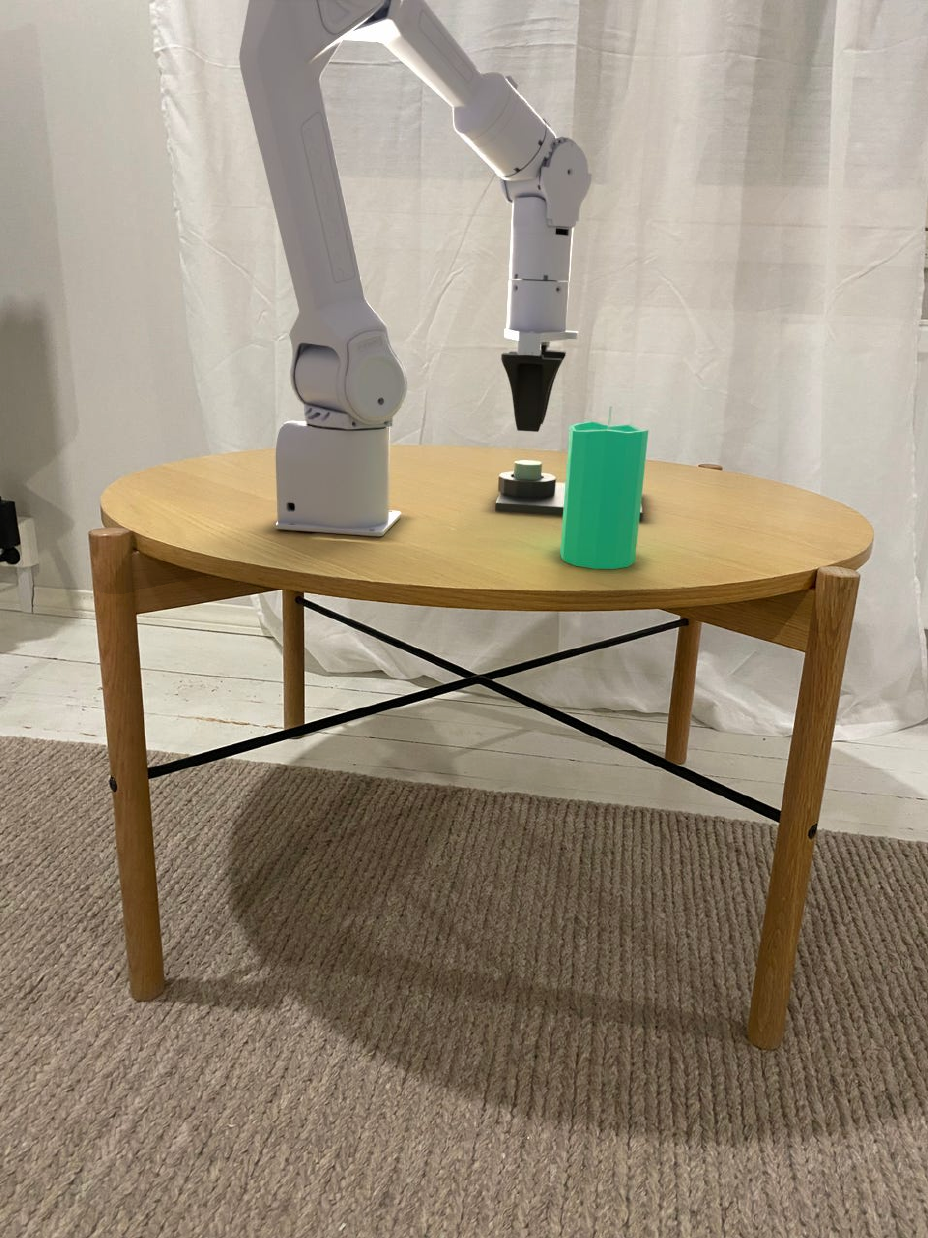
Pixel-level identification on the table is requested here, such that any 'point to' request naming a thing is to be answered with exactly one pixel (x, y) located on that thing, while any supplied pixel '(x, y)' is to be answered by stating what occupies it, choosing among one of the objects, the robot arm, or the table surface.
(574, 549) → the candle
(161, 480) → the table surface
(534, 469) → the button
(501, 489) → the scale
